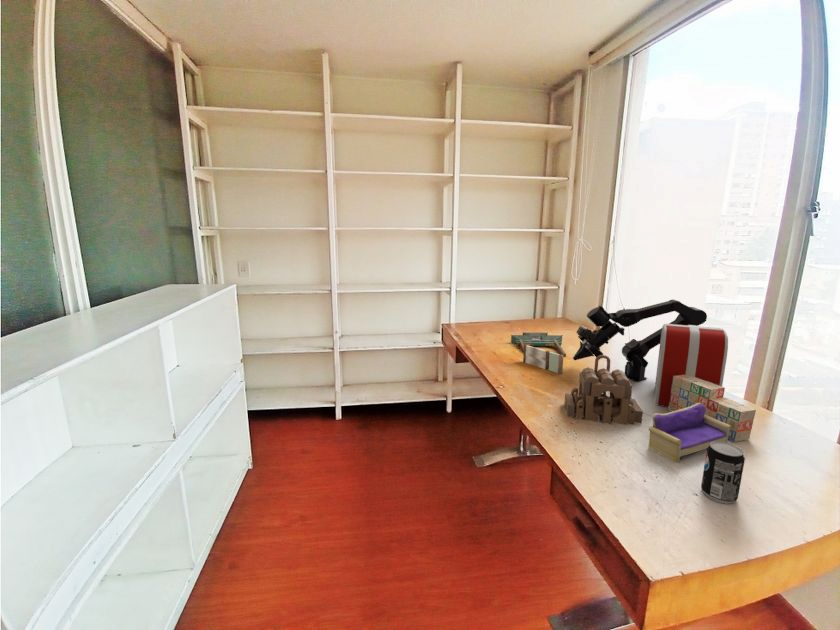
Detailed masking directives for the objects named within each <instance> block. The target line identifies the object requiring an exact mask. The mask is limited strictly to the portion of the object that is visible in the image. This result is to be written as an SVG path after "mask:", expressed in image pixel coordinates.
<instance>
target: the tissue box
mask: <svg viewBox="0 0 840 630" xmlns="http://www.w3.org/2000/svg"><path fill="white" fill-rule="evenodd" d="M661 328H662V332H661V340H660V344H659V349H658V357H657V366H656V376H655V385H654V404H655V405H656V406H660V407H665V408H669V402H670V396H671V388H672V383H673V376H677V375H687V376H693V377H696V378H699V379H702V380H705V381H708V382H711V383H713V384H716V385H719V386H722V387H723V385H724V377H725V372H726V371H725V370H726V364H727V358H728V357H727V356H728V352H729V351H728V349H729V337H728V334H727V332H726V330H725V329H724V328H719V327H709V326H700V325H698V326H696V325H676V324H669V323H663V325H662V327H661Z"/></svg>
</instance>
